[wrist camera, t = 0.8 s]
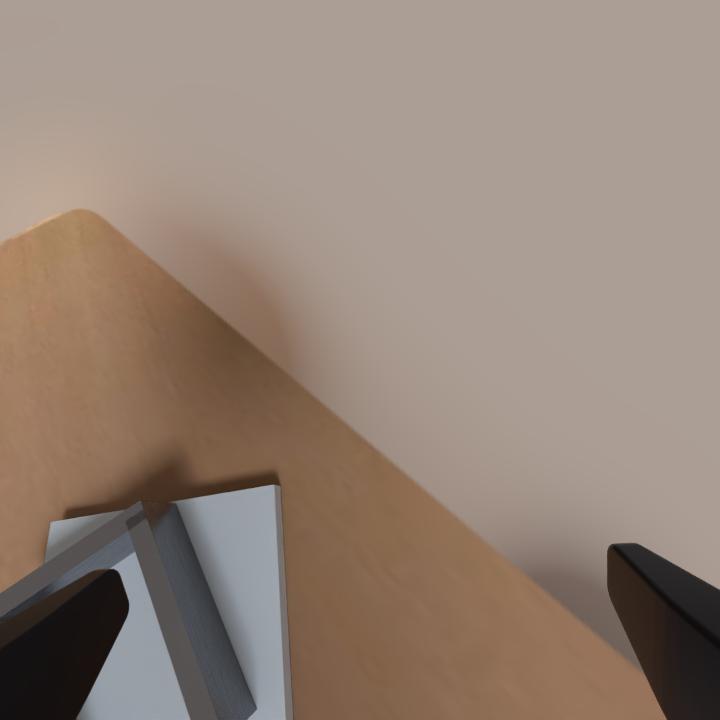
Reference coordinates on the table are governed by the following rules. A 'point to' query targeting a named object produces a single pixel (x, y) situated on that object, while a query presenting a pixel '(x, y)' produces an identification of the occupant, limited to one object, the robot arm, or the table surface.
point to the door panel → (232, 597)
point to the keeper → (157, 602)
